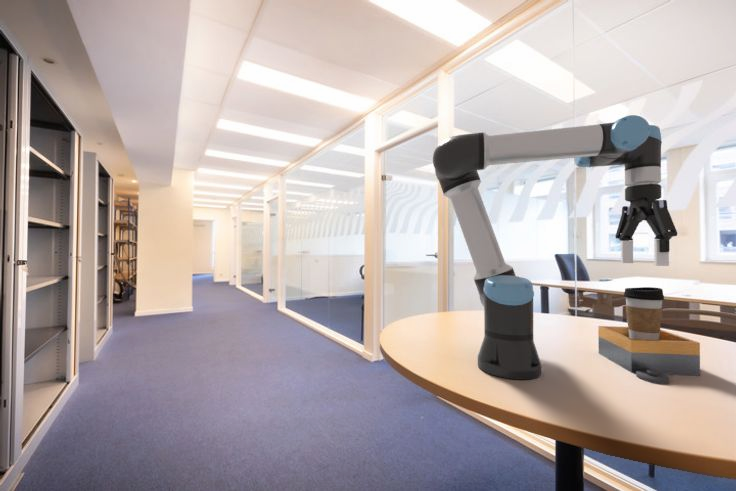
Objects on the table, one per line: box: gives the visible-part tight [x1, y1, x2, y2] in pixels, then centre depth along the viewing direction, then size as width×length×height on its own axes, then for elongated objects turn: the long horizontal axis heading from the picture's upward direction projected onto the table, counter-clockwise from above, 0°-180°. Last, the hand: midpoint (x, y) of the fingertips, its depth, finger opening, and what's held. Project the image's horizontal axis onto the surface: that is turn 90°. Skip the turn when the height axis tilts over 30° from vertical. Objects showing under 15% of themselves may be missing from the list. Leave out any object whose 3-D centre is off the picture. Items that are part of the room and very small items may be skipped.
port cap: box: [635, 369, 671, 385], centre depth 78 cm, size 6×6×2 cm
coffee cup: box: [623, 286, 665, 340], centre depth 88 cm, size 8×8×15 cm
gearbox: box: [597, 325, 701, 377], centre depth 88 cm, size 15×15×8 cm
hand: (643, 264), depth 88 cm, fingers open, 13 cm apart
